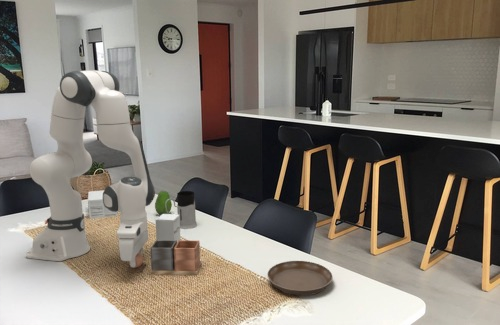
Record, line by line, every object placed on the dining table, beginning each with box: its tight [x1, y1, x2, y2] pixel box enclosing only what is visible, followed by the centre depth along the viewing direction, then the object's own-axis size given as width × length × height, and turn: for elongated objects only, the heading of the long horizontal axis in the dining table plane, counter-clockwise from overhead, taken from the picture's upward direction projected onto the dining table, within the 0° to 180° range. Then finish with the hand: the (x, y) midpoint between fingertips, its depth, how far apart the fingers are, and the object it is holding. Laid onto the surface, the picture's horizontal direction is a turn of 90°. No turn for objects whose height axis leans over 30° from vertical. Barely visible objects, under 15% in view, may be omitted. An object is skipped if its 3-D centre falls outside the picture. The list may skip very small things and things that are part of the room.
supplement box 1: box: [87, 189, 119, 220], centre depth 216 cm, size 17×13×9 cm
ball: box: [128, 253, 145, 268], centre depth 153 cm, size 5×5×5 cm
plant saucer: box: [267, 260, 333, 296], centre depth 142 cm, size 21×21×3 cm
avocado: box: [154, 190, 173, 216], centre depth 211 cm, size 8×8×12 cm
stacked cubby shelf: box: [149, 239, 202, 276], centre depth 152 cm, size 16×9×9 cm, turn 87°
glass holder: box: [165, 190, 198, 230], centre depth 194 cm, size 9×14×15 cm, turn 124°
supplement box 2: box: [155, 213, 181, 242], centre depth 171 cm, size 7×7×13 cm
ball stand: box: [126, 262, 147, 273], centre depth 153 cm, size 5×5×1 cm
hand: (136, 262), depth 153 cm, fingers closed on ball, 5 cm apart
